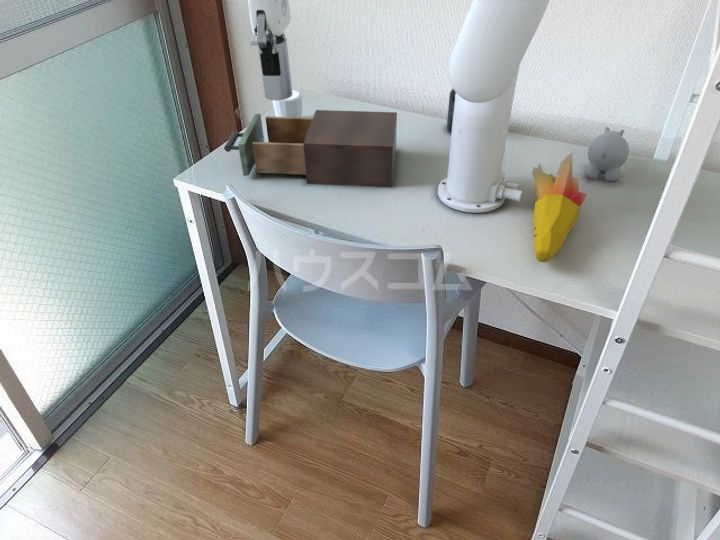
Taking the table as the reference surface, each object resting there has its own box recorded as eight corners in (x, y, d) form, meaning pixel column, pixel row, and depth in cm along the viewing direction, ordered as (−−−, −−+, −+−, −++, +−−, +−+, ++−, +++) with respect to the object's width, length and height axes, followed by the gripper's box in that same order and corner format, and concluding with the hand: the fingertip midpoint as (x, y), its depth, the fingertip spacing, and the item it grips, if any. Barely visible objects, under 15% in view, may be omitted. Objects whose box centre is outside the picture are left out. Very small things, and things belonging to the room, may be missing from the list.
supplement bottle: (481, 135, 127) (489, 81, 119) (452, 138, 126) (457, 85, 118) (470, 121, 132) (476, 69, 124) (442, 124, 131) (446, 72, 123)
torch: (530, 286, 94) (548, 191, 110) (579, 279, 89) (592, 181, 105) (511, 249, 90) (534, 156, 105) (563, 240, 85) (578, 145, 101)
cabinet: (306, 183, 112) (303, 143, 107) (318, 147, 123) (315, 109, 118) (391, 187, 111) (392, 146, 105) (395, 150, 122) (396, 112, 117)
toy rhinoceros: (626, 159, 118) (638, 120, 112) (618, 187, 109) (631, 147, 104) (590, 152, 120) (600, 113, 115) (579, 179, 112) (589, 139, 107)
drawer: (222, 174, 114) (216, 143, 109) (240, 142, 124) (235, 112, 120) (321, 178, 112) (319, 146, 108) (330, 145, 122) (329, 115, 118)
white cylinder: (303, 130, 130) (300, 100, 125) (272, 130, 130) (269, 100, 126) (305, 117, 135) (303, 88, 131) (276, 117, 135) (273, 88, 131)
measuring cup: (295, 89, 110) (289, 35, 104) (289, 100, 106) (283, 45, 100) (261, 89, 111) (254, 35, 104) (255, 100, 107) (246, 44, 100)
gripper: (272, -30, 87) (286, 87, 98) (294, -53, 100) (304, 52, 111) (224, -29, 88) (243, 87, 99) (252, -53, 101) (266, 52, 112)
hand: (275, 68), depth 105 cm, fingers closed on measuring cup, 5 cm apart
